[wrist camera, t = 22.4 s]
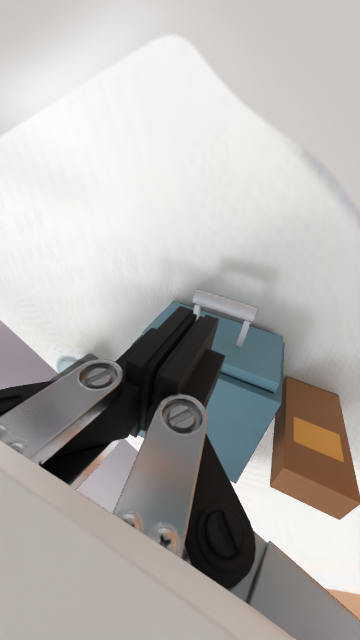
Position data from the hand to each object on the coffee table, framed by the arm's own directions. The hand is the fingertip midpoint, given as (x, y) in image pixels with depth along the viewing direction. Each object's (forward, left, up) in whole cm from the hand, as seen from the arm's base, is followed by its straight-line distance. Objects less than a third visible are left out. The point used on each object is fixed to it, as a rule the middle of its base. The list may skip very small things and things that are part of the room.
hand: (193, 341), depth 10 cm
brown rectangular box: (-12, +16, -18) cm, 27 cm away
